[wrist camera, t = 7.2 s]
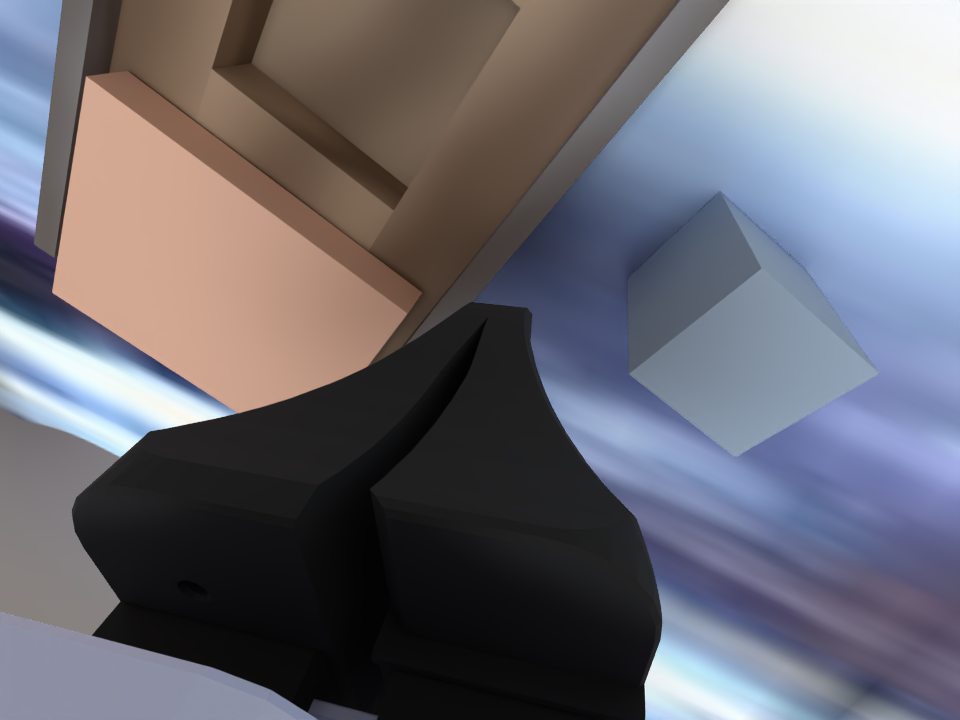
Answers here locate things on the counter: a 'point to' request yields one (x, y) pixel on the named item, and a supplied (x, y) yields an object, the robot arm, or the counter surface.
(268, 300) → the lid
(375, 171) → the board
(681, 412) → the block
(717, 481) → the counter surface
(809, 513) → the counter surface
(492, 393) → the robot arm
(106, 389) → the counter surface
